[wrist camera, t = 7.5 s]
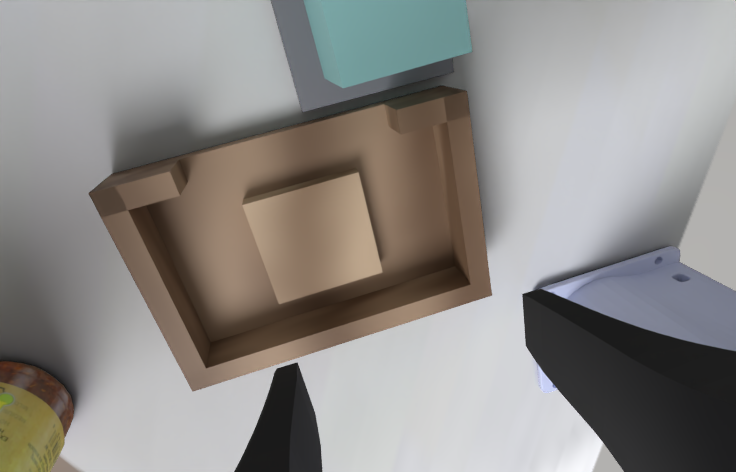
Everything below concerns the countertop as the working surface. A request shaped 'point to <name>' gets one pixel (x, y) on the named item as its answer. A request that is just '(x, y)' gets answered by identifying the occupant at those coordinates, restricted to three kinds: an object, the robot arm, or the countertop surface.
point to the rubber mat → (309, 71)
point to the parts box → (304, 233)
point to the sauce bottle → (31, 418)
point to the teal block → (385, 36)
